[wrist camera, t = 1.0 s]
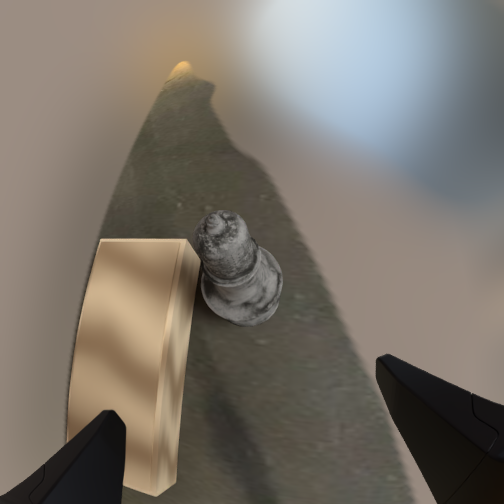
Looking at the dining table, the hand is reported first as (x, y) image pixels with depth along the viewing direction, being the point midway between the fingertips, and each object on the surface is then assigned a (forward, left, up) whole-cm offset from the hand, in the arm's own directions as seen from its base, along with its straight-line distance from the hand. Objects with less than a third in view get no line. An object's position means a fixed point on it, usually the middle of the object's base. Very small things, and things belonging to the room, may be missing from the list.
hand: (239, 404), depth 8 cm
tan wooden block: (+1, +11, -13) cm, 17 cm away
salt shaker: (+8, +2, -14) cm, 16 cm away
